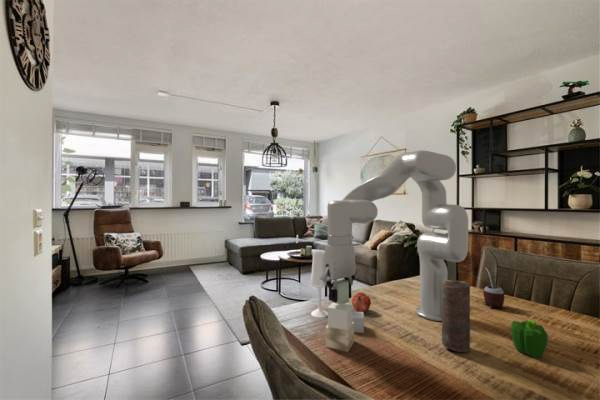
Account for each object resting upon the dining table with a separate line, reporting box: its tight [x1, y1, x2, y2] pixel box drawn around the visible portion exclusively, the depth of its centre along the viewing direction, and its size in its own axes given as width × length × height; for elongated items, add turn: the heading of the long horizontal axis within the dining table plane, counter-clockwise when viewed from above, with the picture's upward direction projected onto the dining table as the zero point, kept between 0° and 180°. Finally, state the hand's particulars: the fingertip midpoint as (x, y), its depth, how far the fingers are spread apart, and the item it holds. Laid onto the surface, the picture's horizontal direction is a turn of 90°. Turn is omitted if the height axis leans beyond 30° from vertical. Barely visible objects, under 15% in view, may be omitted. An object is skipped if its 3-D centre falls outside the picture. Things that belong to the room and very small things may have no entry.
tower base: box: [324, 322, 355, 353], centre depth 86 cm, size 7×7×6 cm
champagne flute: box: [310, 250, 328, 318], centre depth 108 cm, size 7×7×24 cm
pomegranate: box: [351, 292, 372, 313], centre depth 111 cm, size 7×7×10 cm
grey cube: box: [352, 310, 365, 334], centre depth 96 cm, size 5×5×5 cm
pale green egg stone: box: [332, 278, 350, 304], centre depth 86 cm, size 5×5×6 cm
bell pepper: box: [510, 319, 549, 358], centre depth 81 cm, size 8×8×10 cm
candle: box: [441, 279, 471, 353], centre depth 83 cm, size 8×7×20 cm
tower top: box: [327, 301, 353, 331], centre depth 86 cm, size 6×6×6 cm
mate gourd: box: [483, 267, 506, 310], centre depth 115 cm, size 8×8×15 cm
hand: (340, 298), depth 86 cm, fingers closed on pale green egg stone, 5 cm apart
